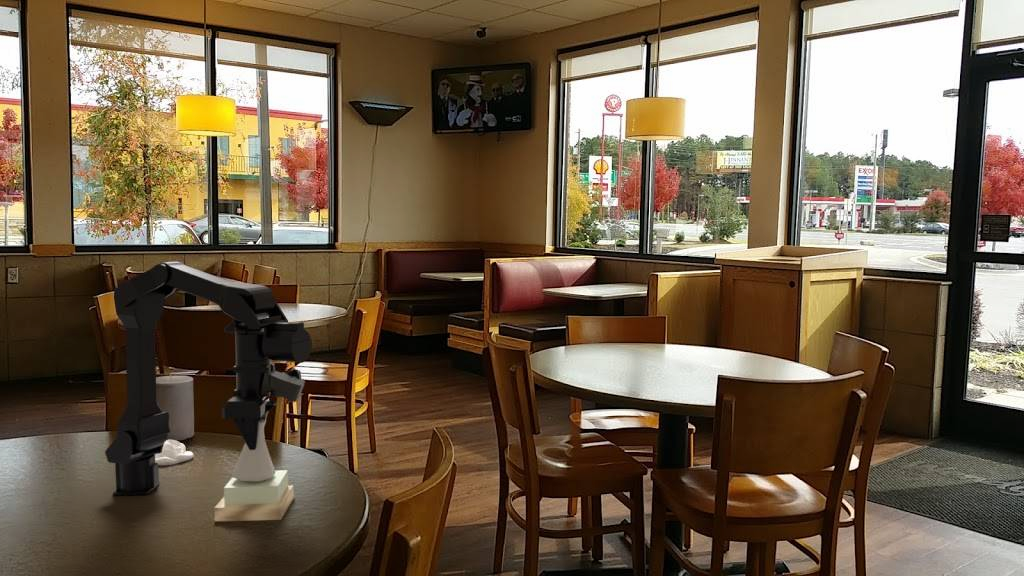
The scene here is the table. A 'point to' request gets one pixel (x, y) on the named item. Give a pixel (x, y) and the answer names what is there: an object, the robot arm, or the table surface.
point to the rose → (173, 453)
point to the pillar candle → (177, 404)
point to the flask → (255, 461)
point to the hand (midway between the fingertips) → (255, 446)
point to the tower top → (256, 490)
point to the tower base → (254, 509)
